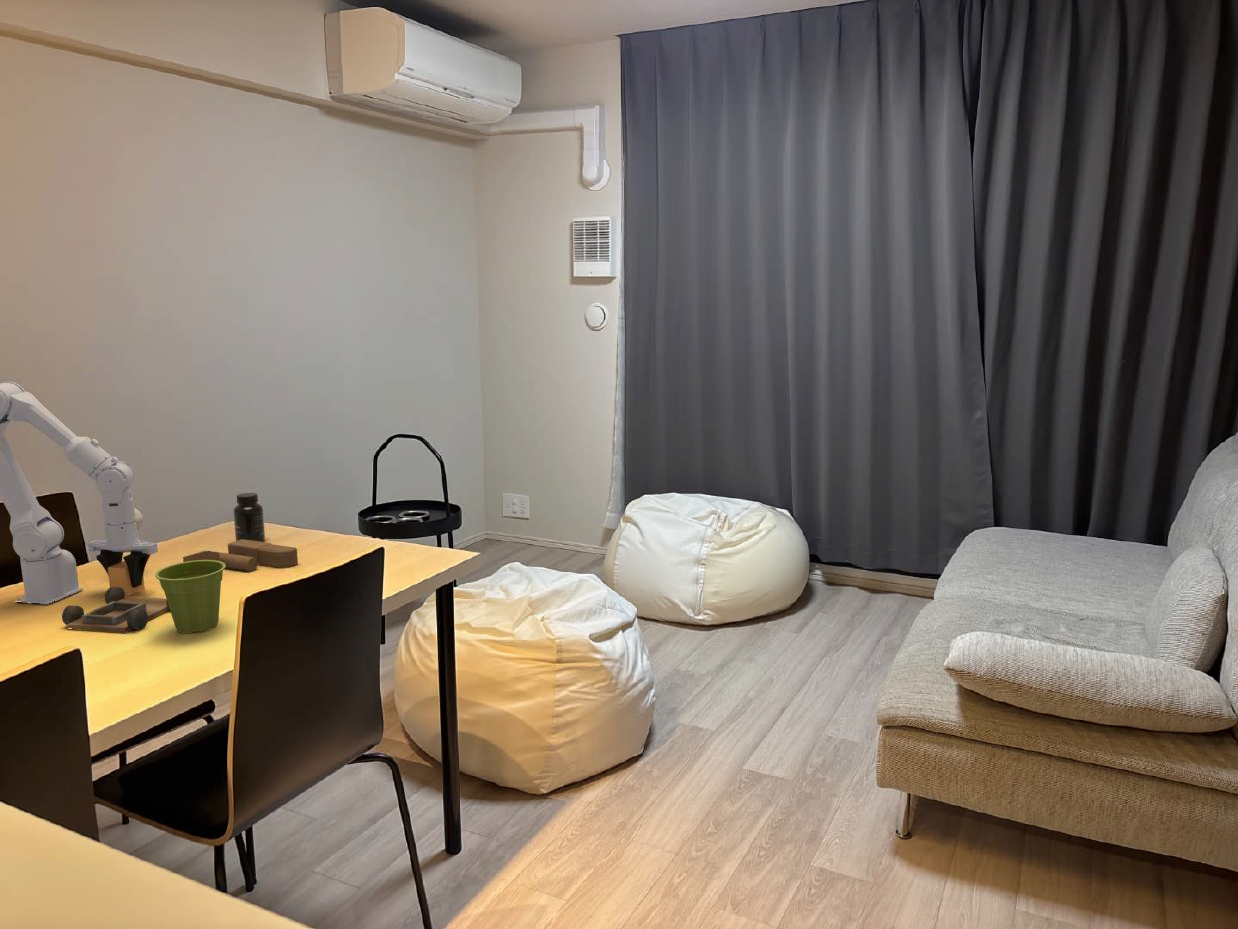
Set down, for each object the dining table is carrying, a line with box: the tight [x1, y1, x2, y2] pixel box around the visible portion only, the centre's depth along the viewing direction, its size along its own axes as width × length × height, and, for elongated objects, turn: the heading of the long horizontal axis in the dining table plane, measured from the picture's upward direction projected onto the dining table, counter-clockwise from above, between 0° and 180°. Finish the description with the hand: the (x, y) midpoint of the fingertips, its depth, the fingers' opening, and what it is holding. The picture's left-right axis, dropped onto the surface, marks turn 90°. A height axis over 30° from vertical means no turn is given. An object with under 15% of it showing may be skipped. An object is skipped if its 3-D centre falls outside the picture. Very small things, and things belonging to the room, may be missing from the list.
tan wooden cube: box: [107, 560, 146, 597], centre depth 191 cm, size 5×4×6 cm
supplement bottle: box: [232, 492, 266, 542], centre depth 229 cm, size 7×7×12 cm
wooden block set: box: [182, 539, 299, 572], centre depth 206 cm, size 17×6×18 cm
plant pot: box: [154, 560, 226, 634], centre depth 170 cm, size 12×12×11 cm
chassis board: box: [61, 586, 170, 634], centre depth 177 cm, size 16×15×4 cm
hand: (127, 585), depth 192 cm, fingers closed on tan wooden cube, 4 cm apart
